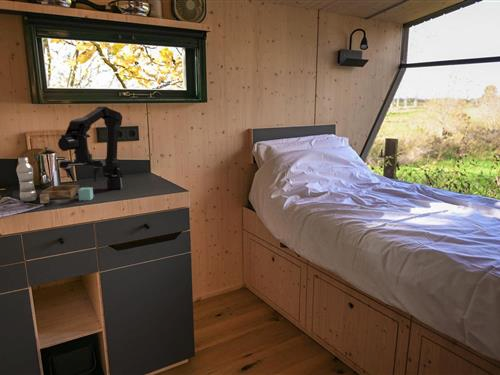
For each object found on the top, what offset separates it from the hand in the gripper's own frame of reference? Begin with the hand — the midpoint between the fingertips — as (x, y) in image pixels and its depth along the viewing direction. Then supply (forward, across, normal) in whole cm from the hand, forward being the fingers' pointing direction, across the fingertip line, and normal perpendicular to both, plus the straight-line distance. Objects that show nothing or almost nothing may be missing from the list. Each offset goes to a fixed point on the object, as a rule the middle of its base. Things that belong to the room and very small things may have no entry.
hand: (84, 181), depth 171 cm
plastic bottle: (+8, +25, 0) cm, 26 cm away
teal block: (+8, 0, 0) cm, 8 cm away
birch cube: (+8, +17, +3) cm, 19 cm away
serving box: (+8, +14, -9) cm, 19 cm away
